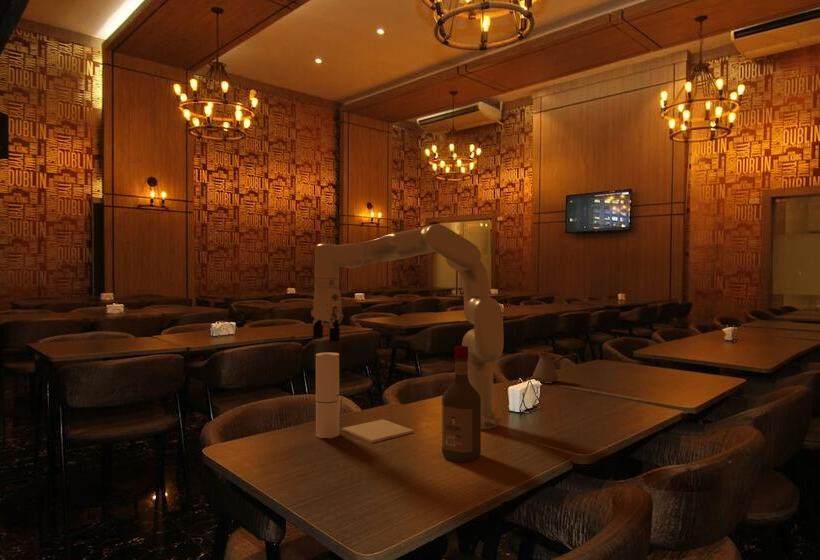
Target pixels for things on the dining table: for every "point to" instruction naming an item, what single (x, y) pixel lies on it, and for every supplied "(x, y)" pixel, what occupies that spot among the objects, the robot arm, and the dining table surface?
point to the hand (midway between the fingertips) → (326, 339)
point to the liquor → (461, 414)
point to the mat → (377, 430)
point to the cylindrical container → (327, 395)
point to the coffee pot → (547, 368)
